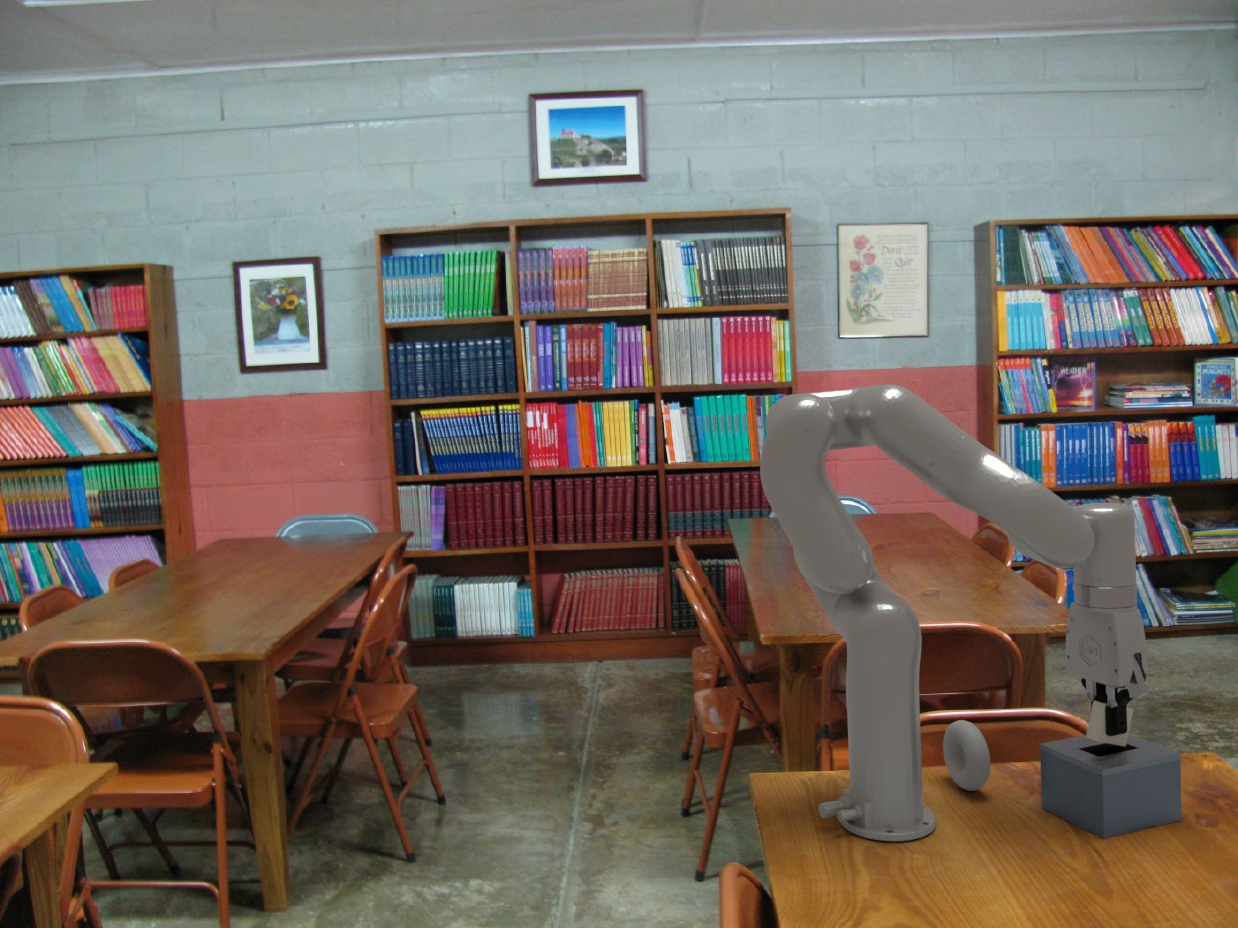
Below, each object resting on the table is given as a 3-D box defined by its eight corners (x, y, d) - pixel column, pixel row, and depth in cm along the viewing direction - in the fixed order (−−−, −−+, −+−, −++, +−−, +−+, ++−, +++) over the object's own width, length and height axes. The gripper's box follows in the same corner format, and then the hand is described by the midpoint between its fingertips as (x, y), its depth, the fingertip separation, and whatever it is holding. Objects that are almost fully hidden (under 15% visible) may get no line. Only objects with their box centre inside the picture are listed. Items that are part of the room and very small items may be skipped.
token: (1097, 741, 134) (1105, 704, 134) (1085, 736, 136) (1093, 700, 136) (1125, 746, 136) (1133, 709, 136) (1114, 742, 137) (1121, 705, 138)
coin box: (1104, 838, 129) (1102, 769, 129) (1041, 807, 140) (1039, 743, 139) (1181, 820, 133) (1180, 753, 133) (1115, 791, 144) (1114, 729, 143)
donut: (996, 800, 143) (994, 730, 142) (973, 803, 142) (971, 733, 142) (960, 775, 153) (958, 710, 152) (939, 778, 152) (937, 712, 152)
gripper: (1040, 590, 141) (1044, 720, 142) (1130, 609, 126) (1135, 754, 127) (1082, 584, 143) (1087, 711, 144) (1176, 602, 129) (1180, 744, 130)
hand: (1109, 730), depth 136 cm, fingers closed on token, 1 cm apart
